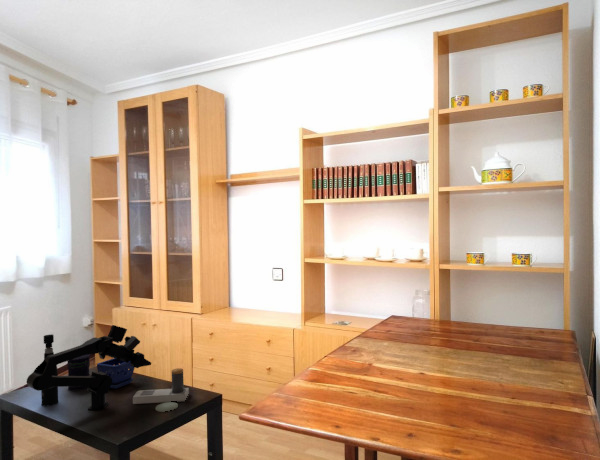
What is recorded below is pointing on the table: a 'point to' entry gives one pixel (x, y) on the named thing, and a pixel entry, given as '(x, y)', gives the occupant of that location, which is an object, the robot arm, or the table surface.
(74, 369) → the storage jar
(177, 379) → the plug
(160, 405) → the rubber mat
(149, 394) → the power strip
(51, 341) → the wine bottle
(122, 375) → the flower pot
